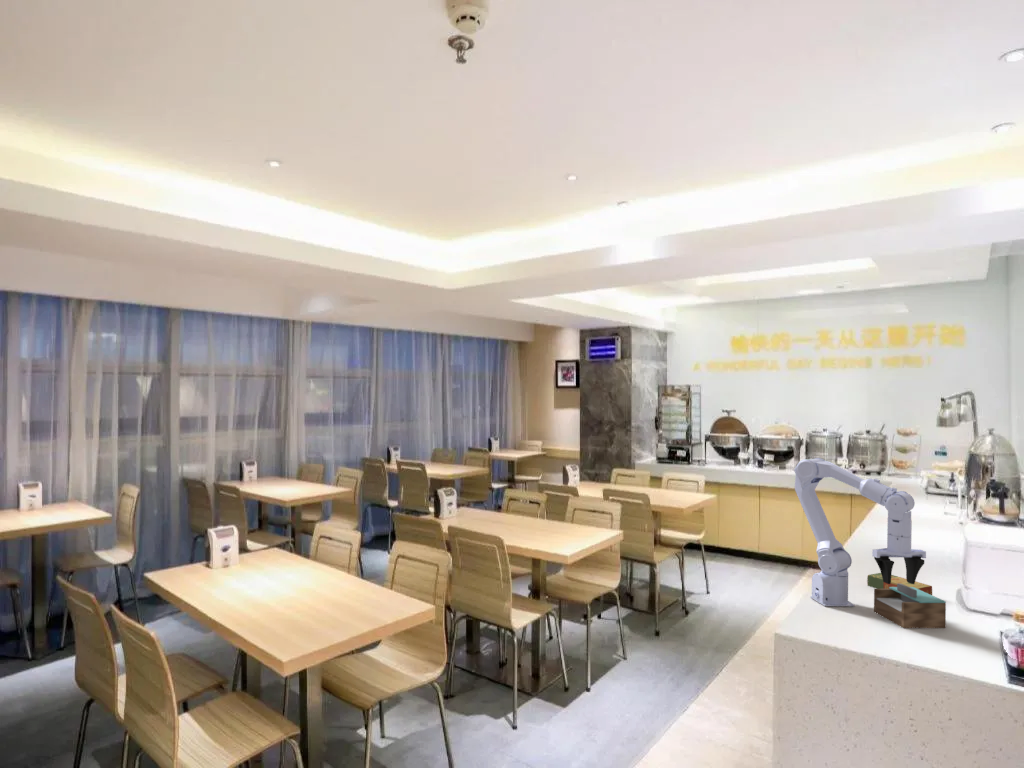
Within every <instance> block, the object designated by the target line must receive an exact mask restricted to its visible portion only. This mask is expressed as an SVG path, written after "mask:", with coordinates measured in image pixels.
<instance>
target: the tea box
mask: <svg viewBox="0 0 1024 768" xmlns="http://www.w3.org/2000/svg"><path fill="white" fill-rule="evenodd" d="M873 591H874V592H873V613H875V612H876V613H875V614H877V613H878V614H877V615H879V616H880V615H881V617H882V616H883V617H882V618H883V619H886V620H888V621H889V622H891V623H893V624H896V625H897V626H899V627H900V626H901V627H900V628H902V627H903V628H902V629H946V625H947V624H946V615H947V614H946V613H947V612H946V610H947V604H946V603H947V602H946V603H919V602H902V612H901V611H899V610H897V609H895V608H893V607H891V606H889V605H887V604H885V603H883V602H881V601H879V600H877V598H901V594H900V593H898V592H896V591H894V590H892V589H877V588H873Z"/></svg>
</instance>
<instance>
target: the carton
mask: <svg viewBox="0 0 1024 768" xmlns="http://www.w3.org/2000/svg"><path fill="white" fill-rule="evenodd" d="M866 582H867V586H868V587H870V588H873V589H890V588H889V587H897V583H901V584H904V585H906V586H908V587H914V588H917V589H919V590H921V591H923V592H926V593H928V594H930V595H932V596H933V586H932V585H930V584H927V583H924V582H923V583H922V582H918V581H916V580H915V583H914V584H911V583H909V582H907V579H906V577H901V576H897V575H894V574H891V584H887V583H885V582H883V578H882V574H881V572H876V573H871V574H868V575H867V579H866Z"/></svg>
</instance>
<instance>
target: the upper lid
mask: <svg viewBox="0 0 1024 768" xmlns="http://www.w3.org/2000/svg"><path fill="white" fill-rule="evenodd" d="M889 588H890V589H892V590H894V591H896V592H898V593H900V594H902V595H904V596H906V597H909V598H911V599H913V600H915V601H917V602H919V603H947V601H946V600H944V599H941V598H938V597H937V596H934V595H933V594H932V595H930V594H928V593H926V592H923V591H921V590H919V589H917V588H914V587H908V586H906V585H904V584H901V583H897V587H889Z"/></svg>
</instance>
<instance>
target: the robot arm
mask: <svg viewBox="0 0 1024 768" xmlns="http://www.w3.org/2000/svg"><path fill="white" fill-rule="evenodd" d="M793 471H794V474H795V476H794V477H795V478H794V491H795V493H796V495H797V497H798V500H799V503H800V505H801V508H802V510H803V513H804V514H805V517H806V519H807V522H808V523H809V527H810V529H811V531H812V533H813V536H814V538H815V540H816V542H817V547H816V550H815V551H816V555H817V565H818V566H819V568H820V569H821V571H820V572H816V573H815V572H814V574H813V575H812V577H811V595H810V597H809V598H810V599H813V600H814V601H816V602H817V603H819V605H820V604H821V605H822V606H823V607H855V606H856V604H854V603H853V602H851V601H849V571H848V569H849V568H850V567H851V566H852V563H853V561H852V560H853V559H852V557H851V554H850V553H849V552H848V551H847V550H846V549H845V548H844V545H843V544H842V542H841V541H839V540H838V539H837V538H836V536H835V534H834V531H833V529H832V526H831V525H830V523H829V520H828V518H827V515H826V513H825V511H824V509H823V507H822V504H821V502H820V500H819V498H818V497H819V496H817V492H816V488H817V487H818V485H819V482H821V481H822V480H823V479H824V478H833V479H835V480H837V481H839V482H841V483H843V484H846V485H848V486H850V487H853V488H855V489H857V490H858V491H859V494H860V495H861V496H862V497H864V498H866V499H868V500H870V501H872V502H875V503H877V504H878V505H880V506H882V507H885V509H886V510H887V530H886V531H887V532H886V533H887V534H886V535H887V538H886V539H887V540H886V541H887V542H886V543H887V544H886V545H887V546H886V548H877V549H875V548H873V549H872V551H871V552H872V553H871V554H872V557H873V559H874V561H875V563H877V566H878V568H879V571H880V573H881V574H882V578H883V582H885V583H887V584H891V575H892V572H893V567H894V564H895V561H893V560H891V558H903V560H904V564H905V573H906V574H905V576H906V577H905V579H907V582H909V583H911V584H914V583H915V581H916V580H917V576H918V574H919V572H920V570H921V569H922V567H923V566H924V565H925V559H926V558H927V551H925V550H923V549H913V548H912V510H913V509H914V507H915V499H914V497H913V496H912V495H911V494H909V493H908V491H904V490H903V491H902V490H899V491H897V490H898V488H896V487H891V486H888V485H886V484H884V483H882V482H881V479H878V478H871V477H870V478H866V479H864V478H862V477H860V476H858V475H856V474H854V473H852V472H850V471H848V470H847V469H844V468H843V467H841V466H838V465H837V464H835V463H834V462H831V461H828V460H825V459H823V458H821V457H815V458H811V459H810V458H809V459H806V458H805V459H801V460H800V461H798V463H797V464H796V466H795V467H794V469H793Z"/></svg>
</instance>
